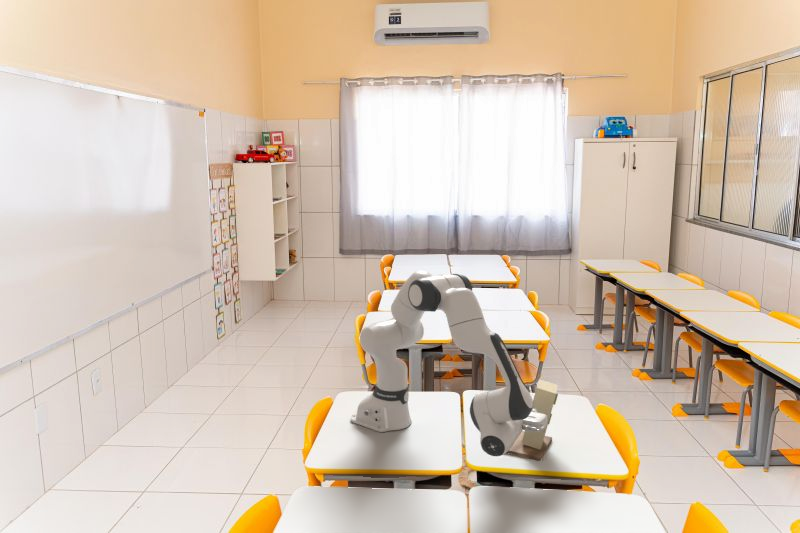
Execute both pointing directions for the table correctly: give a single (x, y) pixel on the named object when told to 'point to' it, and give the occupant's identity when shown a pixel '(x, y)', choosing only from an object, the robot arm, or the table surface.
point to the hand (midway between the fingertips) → (520, 407)
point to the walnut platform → (529, 448)
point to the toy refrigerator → (541, 411)
